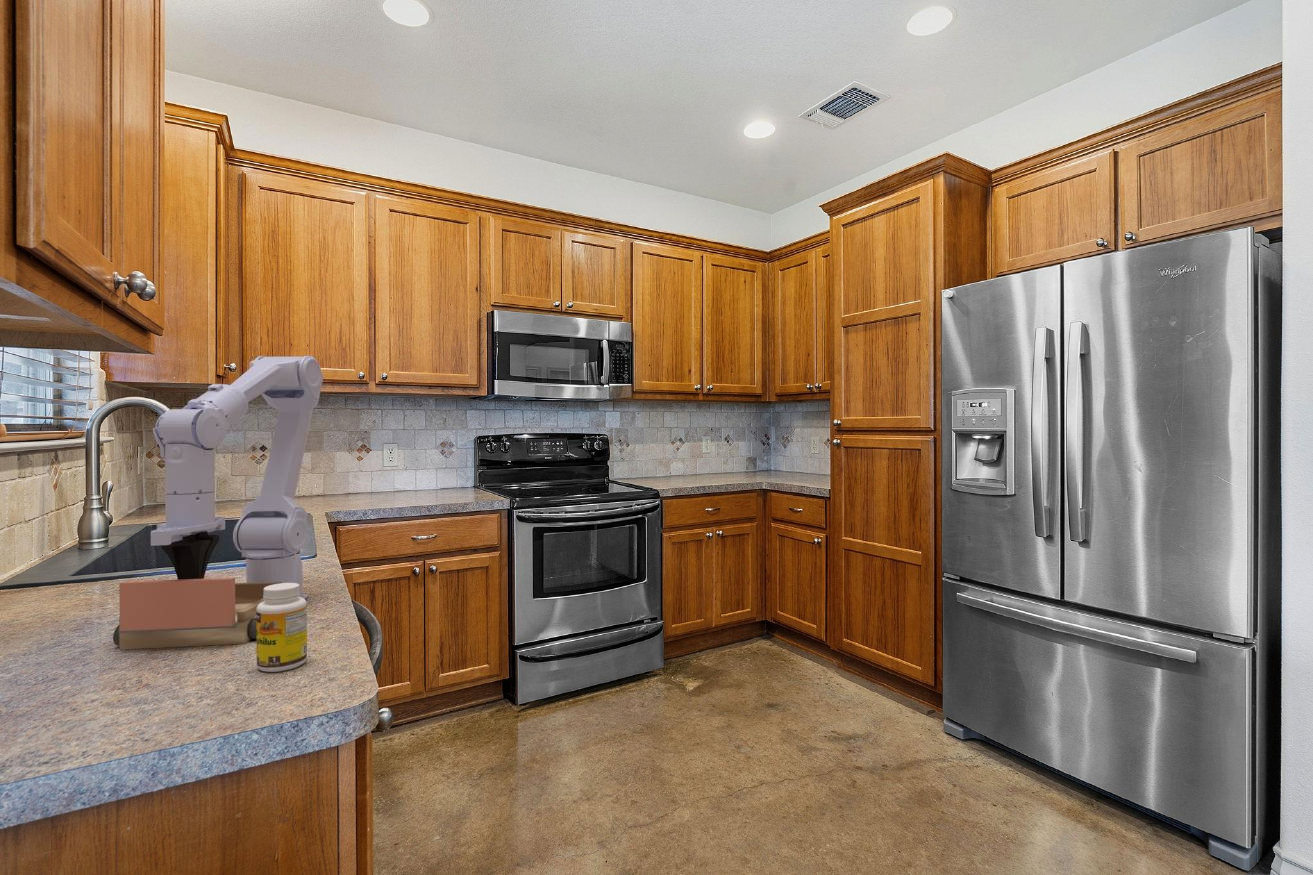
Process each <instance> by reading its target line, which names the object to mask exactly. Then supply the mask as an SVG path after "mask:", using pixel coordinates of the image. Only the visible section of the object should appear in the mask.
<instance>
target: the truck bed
mask: <svg viewBox="0 0 1313 875" xmlns="http://www.w3.org/2000/svg"><path fill="white" fill-rule="evenodd" d="M280 583H282V582H259V583H246V582H235V622H236V623H237V625H236V627H235V628H218V629H196V630H174V631H152V632H130V633H119V628H120V616H119V617H118V618H119V619H118V622H119V624H118V625H117V626H116V627H115V629H114V631H113V634H112V641H113V644H114V645H115V646H118V647H119V650H138V649H140V650H141V649H142V650H144V649H158V648H159V649H160V648H162V649H164V648H179V647H180V648H182V647H200V646H202V647H203V646H221V645H222V646H224V645H242V644H247V643H248V642H250V641H251V640H257V623H256V608H257V606H258V605H259V604H260V603H261V602H263V601H264V600H263V599H264V597H263V595H264V588H265V587H267V586H270V585H274V584H280Z"/></svg>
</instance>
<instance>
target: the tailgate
mask: <svg viewBox="0 0 1313 875" xmlns="http://www.w3.org/2000/svg"><path fill="white" fill-rule="evenodd" d="M235 583H236V578H235V577H222V578H221V577H220V578H219V577H217V578H204V579H182V580H178V579H160V580H129V581H122V582H119V584H118V585H119V587H118V589H119V590H118V593H119V595H118V596H119V599H118V600H119V617H120V628H119V633H130V632H152V631H174V630H196V629H218V628H235V627H236V625H237V623H236V622H235Z"/></svg>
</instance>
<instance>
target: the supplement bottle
mask: <svg viewBox="0 0 1313 875" xmlns="http://www.w3.org/2000/svg"><path fill="white" fill-rule="evenodd" d="M299 593H300V591H299V584H297V583H280V584H274V585H270V586H267V587H265V588H264V595H263V597H264V599H263V600H264V601H263V602H261V603H260V604H259V605H258V606H257V608H256V623H257V639H256V667H257V669H258V670H260V671H262V672H264V673H265V672H266V673H267V672H268V673H278V672H279V673H280V672H284V671H285V672H286V671H290V670H292V669H295V668H298V667H300V666H302V665H303V664H304V663H305V662H306V660H307V658H308V651H307V650H308V635H307V634H308V628H307V627H308V620H307V619H308V614H307V611H308V609H307V607H308V606H307V604H308V603H307V600H306V599H304V598H301V597H299V596H300V594H299Z"/></svg>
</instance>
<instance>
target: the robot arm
mask: <svg viewBox="0 0 1313 875" xmlns="http://www.w3.org/2000/svg"><path fill="white" fill-rule="evenodd" d="M323 375H324V374H323V372H322V368H321V366H320V363H319V362H318V360H317V359H316V358H315V356H312V355H305V356H304V355H303V356H267V355H259V356H257V357H256V358H255V359H253V360H251V361H249V366H248V370H246V371H245V372H244V373H243V374H242V375H240V376H239V377H238V378H237V379H236V380H234V381H233V382H232V383H231V384H227V383H226V384H225V383H212V384H210V385H208V387H207V391H205V393H203V394H200V396H199V397H196V398H193V399H191V400H189V401H187V404H186V405H185V406H183V407H182V408H173V409H172V408H171V409H169V410H167V411H165V412H164V413H162V414H161V415H160V416H159V418H158V419H157V420H156V423H155V427H153V428H152V432H153V433H152V434H153V437H154V440H155V442H156V443H157V445H158V446H159V449H160V450H159V451H160V452H159V453H160V458H161V460H162V461H164V471H165V472H164V475H165V476H164V479H165V480H164V482H165V485H164V488H165V489H164V492H165V499H164V500H165V502H164V503H165V522H164V523H159V524H156V529H153V530H151V531H150V546H151V547H152V546H156V547H157V546H160V547H161V549H162V550H163V552H164V553H165V554H166V555H167V558H169V560H170V562H171V564H172V566H173V569H174V571H175V574H176V577H177V580H182V579H205V576H206V573H207V568H208V564H209V562H210V558H211V556H212V554H213V552H214V550H215V548H216V546H217V545H218V543H219V542H220V534H209V533H211V532H212V533H213V532H215V531H223V530H226V517H225V516H216V477H215V475H216V474H215V473H216V469H215V468H216V467H215V454H216V453H215V451H216V449H215V448H217V447H218V446H219V447H220V446H221V445H222V443H223V442H224V439H225V436H226V432H227V431H228V430H229V428H230V426H231V425H232V424H233V425H234V423H236V421H239V419H240V418H242V417H243V416H244V415H245V414H246V413H247V412H248V410H249V402H251V401H252V400H254V399H256V398H257V397H259V396H260V395H261V396H262V398H263V399H264V400H265V402H266V403H267V405H268V406H270V407H271V408H273V409H276V411H277V413H278V416H277V420H276V423H275V424H276V425H275V428H274V434H273V438H272V442H271V445H270V451H269V454H268V459H267V465H266V468H265V473H264V477H263V481H262V487H261V490H260V495H259V496H258V497H257V498H256V499H254V500H252V501H251V502H249V503H248V504H247V505H245V506H244V507H243V508H242V513H241V515H240V518H239V519H238V521H237V522H236V524H235V526H234V528H233V532H232V541H233V544H234V547H235V549H236V550H237V551H239V553H241V558H245V563H246V564H245V567H246V569H245V570H246V571H245V572H246V582H245V583H259V582H282V583H297V584H299V591H300V593H299V594H300V596H299V597H301V598H304V599H305V600H306V599H308V597H309V594H303V589H304V588H303V561H302V559H301V556H299V555H298V554H299V553H300V551H301V549H302V548H303V547H304V545H305V544H306V541H307V538H308V526H307V523H308V522H307V521H308V512H307V510H306V509H305V508H304V507H302V506H301V505H300V504H299V503H298V502H297V501H296V500H295V497H296V493H297V488H298V484H299V483H298V482H299V479H300V474H301V469H302V464H303V460H304V454H305V449H306V445H307V442H308V441H307V440H308V435H309V430H310V426H311V421H312V418H313V417H312V416H313V412H314V408H315V407H316V406H318V404H319V400H320V396H321V391H322V385H323V381H324V376H323Z"/></svg>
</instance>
